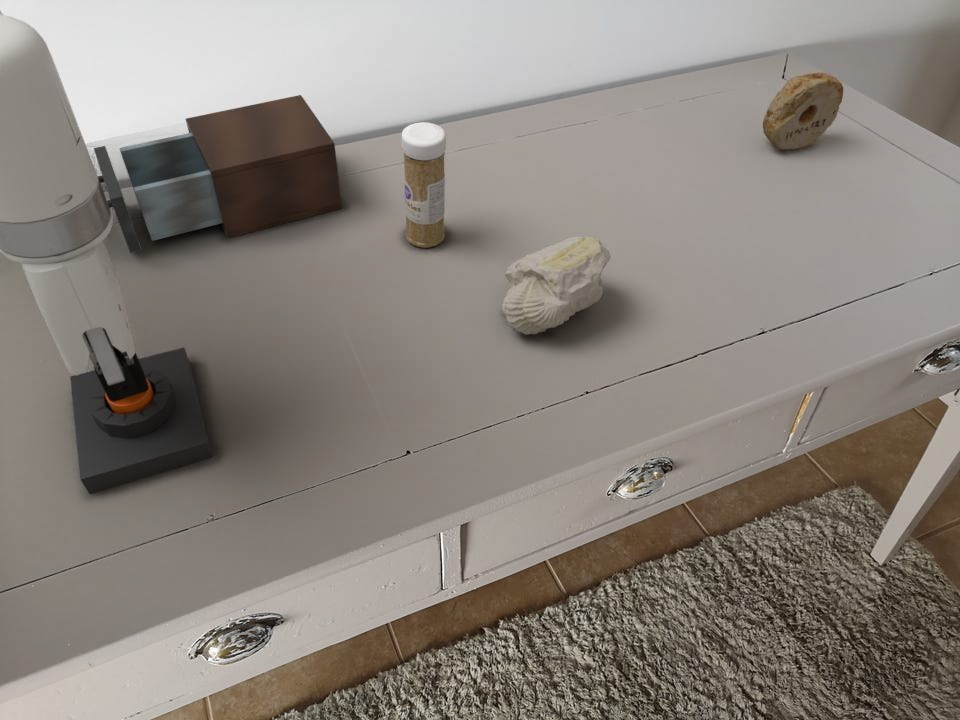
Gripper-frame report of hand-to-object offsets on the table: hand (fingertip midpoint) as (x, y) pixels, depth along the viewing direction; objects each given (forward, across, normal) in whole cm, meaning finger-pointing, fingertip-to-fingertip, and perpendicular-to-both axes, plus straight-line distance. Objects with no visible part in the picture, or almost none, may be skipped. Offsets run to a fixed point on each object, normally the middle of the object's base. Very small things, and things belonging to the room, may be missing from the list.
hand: (128, 389), depth 66 cm
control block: (+5, 0, 0) cm, 5 cm away
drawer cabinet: (+5, -29, +20) cm, 36 cm away
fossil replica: (+5, +3, +40) cm, 41 cm away
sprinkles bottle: (+5, -14, +34) cm, 37 cm away
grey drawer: (+4, -29, +7) cm, 30 cm away
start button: (+2, 0, 0) cm, 2 cm away
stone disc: (+5, -12, +87) cm, 88 cm away
